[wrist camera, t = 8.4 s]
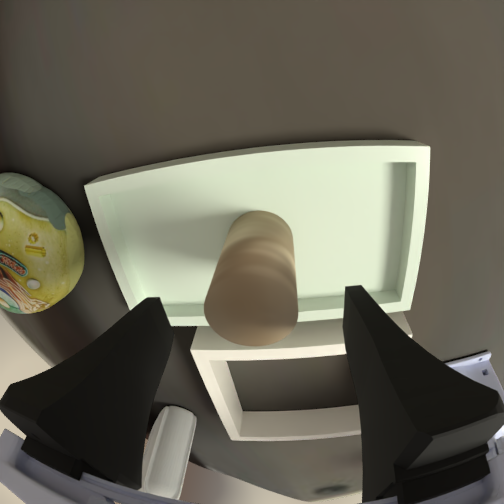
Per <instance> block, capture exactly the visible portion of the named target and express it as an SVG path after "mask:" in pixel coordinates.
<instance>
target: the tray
mask: <svg viewBox="0 0 504 504" xmlns="http://www.w3.org/2000/svg"><path fill="white" fill-rule="evenodd" d="M429 170H430V146H427V145H425V144H423V143H420V142H418V141H415V140H350V141H326V142H310V143H296V144H284V145H274V146H264V147H255V148H247V149H239V150H232V151H224V152H218V153H211V154H205V155H199V156H193V157H187V158H181V159H176V160H171V161H165V162H160V163H155V164H151V165H146V166H141V167H137V168H132V169H128V170H124V171H120V172H115V173H111V174H107V175H104V176H100V177H98V178H96V179H95V180H93V181H91V182H89V183H88V184H86V185H84V188H85V191H86V195H87V198H88V201H89V204H90V208H91V211H92V214H93V217H94V220H95V223H96V226H97V229H98V232H99V235H100V237H101V240H102V243H103V246H104V248H105V251H106V254H107V256H108V259H109V262H110V264H111V267H112V269H113V272H114V274H115V277H116V279H117V281H118V284H119V286H120V288H121V291H122V293H123V295H124V298H125V300H126V302H127V304H128V307H129V309H130V310H131V309H133V308H134V307H135V306H136V305H137V304H139V303H140V302H141V301H142V300H144V299H145V298H147V297H160V299H161V302H162V304H163V307H164V310H165V312H166V315H167V317H168V320H169V322H170V325H171V326H210V325H209V324H208V322H207V320H206V318H205V314H204V302H205V298H206V295H207V292H208V289H209V286H210V283H211V281H212V278H213V275H214V272H215V269H216V266H217V263H218V260H219V257H220V254H221V251H222V249H223V246H224V243H225V240H226V237H227V234H228V232H229V229H230V227H231V225H232V224H233V222H234V221H235V220H236V219H237V218H238V217H240V216H241V215H243V214H245V213H247V212H251V211H260V210H261V211H268V212H271V213H274V214H276V215H278V216H279V217H281V218H282V219H283V220H284V221H285V222H286V223H287V224H288V226H289V227H290V229H291V231H292V235H293V243H294V256H295V268H296V282H297V297H298V320H297V322H302V321H315V320H327V319H338V318H343V312H344V297H345V286H355V285H362V286H363V287H364V289H365V290H366V291H367V292H368V293H369V294H370V296H371V297H372V298H373V299H374V300H375V301H376V303H377V304H378V305H379V306H380V307H381V308H382V309H383V310H384V312H385V313H391V312H399V311H406V310H410V308H411V303H412V299H413V294H414V290H415V285H416V280H417V274H418V269H419V263H420V257H421V251H422V244H423V237H424V230H425V221H426V212H427V201H428V188H429Z"/></svg>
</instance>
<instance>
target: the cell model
mask: <svg viewBox="0 0 504 504" xmlns="http://www.w3.org/2000/svg"><path fill="white" fill-rule="evenodd" d="M83 267H84V244H83V239H82V235H81V231H80V228H79V226H78V223H77V221H76V219H75V217H74V216H73V214H72V212H71V211H70V209H69V208H68V206H67V205H66V204H65V203H64V202H63V201H62V199H61V198H60V197H59V196H57V195H56V194H55V193H54V192H52V191H51V190H49V189H47V188H46V187H44V186H42V185H41V184H40V183H38V182H37V181H35V180H34V179H32V178H30V177H27V176H25V175H21V174H17V173H2V174H0V307H1V308H3V309H5V310H7V311H10V312H13V313H20V314H28V313H35V312H40V311H43V310H45V309H47V308H49V307H51V306H52V305H54V304H55V303H57V302H58V301H59V300H61V299H62V298H64V297H65V296H66V295H67V294H68V293H69V292H71V291H72V289H73V288H74V286H75V285H76V284H77V282H78V280H79V278H80V276H81V273H82V271H83Z"/></svg>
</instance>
